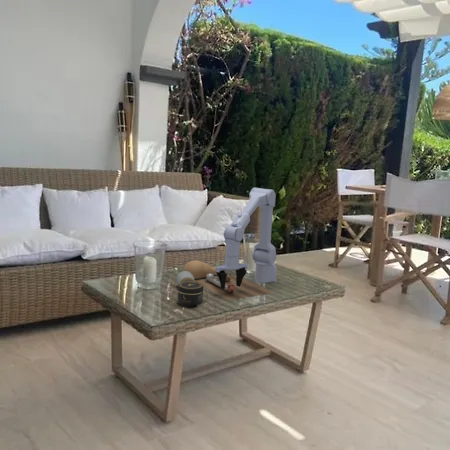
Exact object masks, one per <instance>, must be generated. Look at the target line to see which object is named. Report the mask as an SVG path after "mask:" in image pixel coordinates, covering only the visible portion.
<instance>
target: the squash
mask: <svg viewBox="0 0 450 450" xmlns="http://www.w3.org/2000/svg"><path fill="white" fill-rule="evenodd" d="M216 267H217V266H212V265H210V264H209V263H206V262H204V261H201V260H197V259H195V260H191V261H188V262H186V263H185V264H184V267H183V271H188V272H190V273H191V274H192V275H193V277H194V280H197V279H198V280H199V279H206V276H207V273H212V274H214V276H218V275H217V273H216V271H215V269H216Z"/></svg>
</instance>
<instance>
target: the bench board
mask: <svg viewBox="0 0 450 450" xmlns="http://www.w3.org/2000/svg"><path fill="white" fill-rule="evenodd" d="M225 273H226V274H229V275H230V276H231V279H230V280H229V281H226V285H228V284H234V292H233V293H228V292H227V290H225V289H223V288H221V287H219V286H217V285H216V284H214V283H212V282H208V281H206V279H200V280H199V279H198V280H195V282H198V283H201V284H202V285H203V288H205V289H206V290H208V291H210V292H211V293H213V294H215V295H217V296H219V297H220V298H222V299H224V300H226V301H231V300H232V301H233V300H237V299H238V300H239V299H244V298H250V297H257V296H258V297H259V296H262V295H264V296H265V295H269V294H270V295H271V294H275V292H274V291H272V290H270V289H268V288H266V287H263V286H262V285H260V284H257V283H256V282H253V281H252V280H249V279H247V278H245V277H243V280H242V282H241V285H240V287H239V286H237V285H236V275H232V273H231V272H230V271H225ZM214 279H216V280H217V279H219V277H215V278H214Z"/></svg>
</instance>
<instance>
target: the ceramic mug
mask: <svg viewBox="0 0 450 450" xmlns="http://www.w3.org/2000/svg"><path fill="white" fill-rule="evenodd" d="M175 277H176V278H175V281H176V282H175V283H176V285H177V286H178V285H179V284H180V283H182V282H195V281H196V279H194V277H193V275H192V274H191V273H190V272H188V271H184V270H183V271H180V272H179V273H178V274H177V275H176V276H175Z"/></svg>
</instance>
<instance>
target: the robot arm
mask: <svg viewBox="0 0 450 450" xmlns="http://www.w3.org/2000/svg"><path fill="white" fill-rule="evenodd" d="M276 195H277V194H276V192H275V190H274V189H271V188H270V189H269V188H259V187H253V188H251V190H250V192H249V196H248V197H249V199H248V201H247V203H246V206H245V207H244V208H243V211H242V212H238V214H237V215H236V217H235V218H234V220H233V221H232V223H231V224H230V225H228V226H227V227H225V229H224V232H223V239H224V243H225V254H224V255H225V256H224V257H225V258H224V264H221V265H218V266H215V267H216V269H215V271H216V273H217V275H216V276H217V278H219V280H220V285H221V288H223V289H225V282H226V277H227V274H226V273H225V272H230V271H235V276H236V285H237V286H239V287H240V285H241V282H242V280H243V278H245V276H246V274H247V272H248V267H249V266H248V265H249V264H247V263H240V254H241V253H240V252H241V250H240V249H241V241H242V240H243V239H244V234H245V231H246V228H247V226H249V225H248V224H250V222H251V218H250V217H251V216H252V214H254V212H255V211H256V209H257V208H258V207H259V208H260V221H259V222H260V225H259V237H258V239H259V240H258V242H257V243H256V244H255V245H254V246H253V250H252V255H251V256H252V260H253V261H254V264H255V269H254V270H255V271H254V272H255V274H254V280H255V282H257V283H263V284H267V283H271V282H274V283H277V284H278V282H277V272H278V269H277V265H276V263H275V262H276V261H277V260H276V259H277V251H276V247H275V246H274V245H273V244H272V243H271V239H272V229H273V228H272V226H273V225H272V224H273V213H274V207H276Z"/></svg>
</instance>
